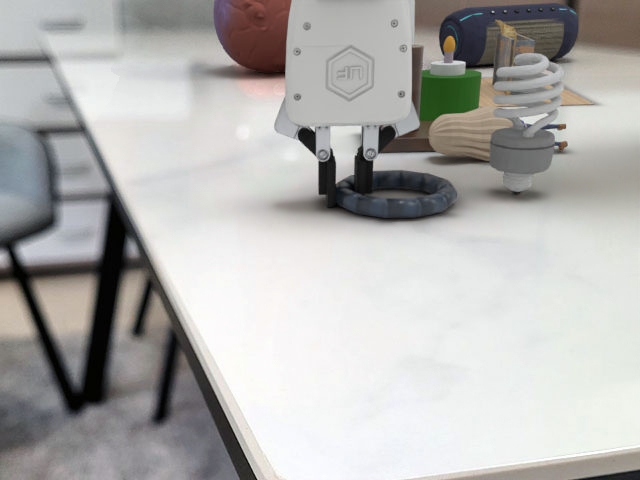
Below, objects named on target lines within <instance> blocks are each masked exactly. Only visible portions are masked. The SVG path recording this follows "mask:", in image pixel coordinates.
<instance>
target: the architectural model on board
mask: <svg viewBox="0 0 640 480" xmlns="http://www.w3.org/2000/svg"><path fill="white" fill-rule="evenodd" d="M495 22H498V25H499V26H500V28H501V33H497V38H496V49H495V60H494V65H493V72H492V77H481V87H480V98H479V108H481V107H483V106H496V107H520V106H519V105H510V104H509V105H501V104H495V103H494V102H493V100H492V99H493V97H494V96H495V95H519V94H529V93H523V92H514V91H497V90H495V89H494V84H495V83H496V82H498V81H519V80H526V79H520V78H509V77H499V76H497V75H496V71H497V70H498V69H499V68H502V67H514V66H520V65H517V64H515V63H514V58H515V57H516V56H517V55H520V54H523V53H534V45H535V41H534V40H532V39H529V38H527V37H524V36H522V35H519V34H516V32H515V29H514V27H511V26H509V25H506V24H505V23H503V22H502V21H501V20H499V21H498V20H496V21H495ZM544 88H548V89H551V88H553V86H551V85H548V86H544ZM560 96H561V97H562V104H561V105H560V106H572V105H573V106H575V105H578V106H581V105H582V106H583V105H594V103H593V102H591V101H589V100H587V99H585V98H583V97H581V96H579V95H577V94H575V93H574V92H571V91H570V90H568V89H566V88H564V90H563V92H562V93H561V94H560ZM544 102H547V103H550V102H552V101H551V100H549V99H548V100H544Z"/></svg>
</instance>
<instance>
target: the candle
mask: <svg viewBox="0 0 640 480" xmlns="http://www.w3.org/2000/svg"><path fill="white" fill-rule="evenodd" d="M443 49H444V52H445V53H444V56H443V60H435V61H431V62H430V69H429V68H428V69H422V83H421V100H420V118H419V121H435V120H436V119H437V118H438V117H439V116H441V115H444V114H456V113H466V112H469V111H472V110H475V109H478V108H480V107H479V98H480V87H481V78H482V72H481V71H478V70H474V69H466V67H465V66H466V62H463V61H453V53H454V52H453V51H454V50H455V40H454V38H453V37H452V36H448V37H447V38H446V40H445V42H444V46H443Z"/></svg>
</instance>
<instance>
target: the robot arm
mask: <svg viewBox="0 0 640 480" xmlns="http://www.w3.org/2000/svg"><path fill="white" fill-rule="evenodd" d="M284 72H285V73H284V75H285V76H284V97H283V100H282V103H281V105H280V108H279V109H278V112H277V116H276V118H275V120H274V125H273V128H274V131H275V132H276V133H277V134H280V135H283V136H285V137H288V138H290V139H292V140H296V141H299V142H300V143H301V144H302V145H303V146H304V147H305V148H306V149H307V150H308V151H309V152H310V153H312V154H313V156H314V157H316V160H318V161H317V165H318V167H317V168H318V170H317V173H318V174H317V181H318V182H317V187H318V188H317V190H318V196H325V202H326V203H325V204H326V207H327V208H334V206H336V205H337V203H336V183H337V161H336V157H335V155H334V151H333V148H332V147H331V127H359V126H360V146H359V147H358V148H357V152H356V154H355V155H354V158H353V159H354V161H353V162H354V165H353V167H354V168H353V175H354V192H356V193H359V194H361V195H373V189H372V187H373V171H374V161H375V160H376V159H377V157H378V155H379V154H380V153H382V152H381V151H382V150H383V149H384V148H385V147H386V146H387V145H388V144H389V143H390V142H391V141H392V140H393V139H394V138H396V137H398V136H402V135H404V134H406V133H409V132H411V131H413V130H416V129H417V128H418V127H419V126H420V121H419V118H418V115H417V113H416V110H415V107H414V104H413V102H412V99H411V97H412V39H411V21H410V11H409V3H408V0H292V2H291V7H290V13H289V20H288V31H287V42H286V69H285V71H284ZM379 125H381V126H380V127H379ZM311 127H314V130H313V129H312V128H311Z"/></svg>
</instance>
